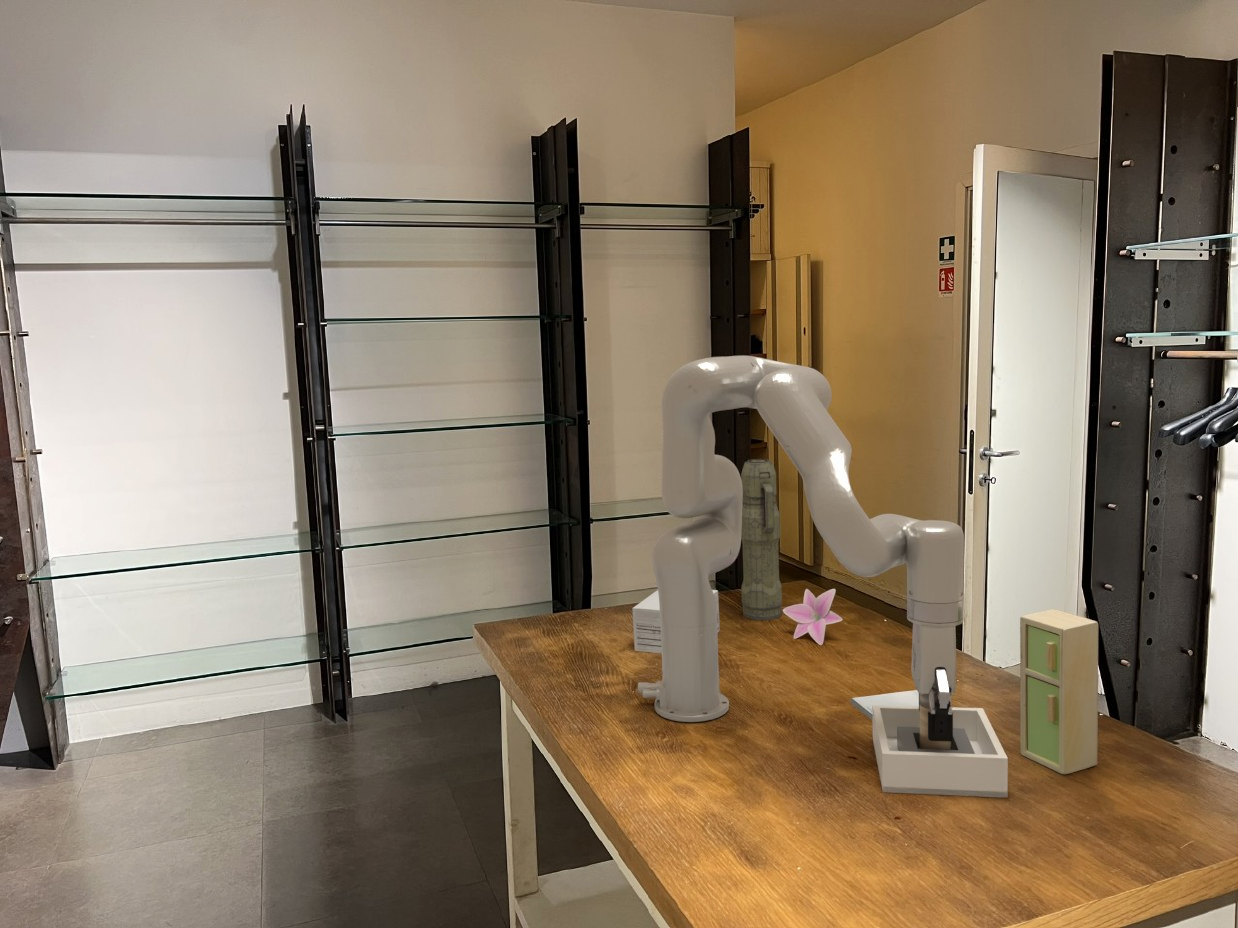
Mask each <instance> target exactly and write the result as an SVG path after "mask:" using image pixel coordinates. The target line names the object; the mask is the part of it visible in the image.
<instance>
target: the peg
mask: <svg viewBox="0 0 1238 928" xmlns="http://www.w3.org/2000/svg"><path fill="white" fill-rule="evenodd" d="M932 690H938V689H932ZM936 699H938V697H934V704H935V701H936ZM928 712H930V704H929V695H928V694H924V695H920V749H937V750H951V741H950V742H949V741H930V740H929V739H928Z"/></svg>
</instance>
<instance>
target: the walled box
mask: <svg viewBox="0 0 1238 928" xmlns="http://www.w3.org/2000/svg"><path fill="white" fill-rule="evenodd" d="M872 710H873V721H872V742H873V748H874V754H875V759H876V764H877V769H878V774H879V779H880V785H881V789H882V790H881V791H882V793H893V794H895V793H897V794H915V795H916V794H917V795H939V796H958V797H959V796H961V797H962V796H963V797H979V798H980V797H985V798H1001V799H1003V798H1006V799H1008V787H1009V786H1008V778H1009V777H1008V776H1009V775H1008V774H1009V768H1008V765H1009V764H1008V763H1009V760H1008V759H1009V758H1008V756H1007V754H1006V752H1005V750H1004V748H1003V746H1002V744H1001V742H1000V740H999V737H998V736H997V734H996V732H995V730H994V728H993V726H992V724H991V722H990V720H989V718H988V716H987V714H986V711H985V710H984V708H983V707H979V708H978V707H955V706H952V713H953V740H952V741H951V750H937V749H920V711H919V706H884V705H872Z"/></svg>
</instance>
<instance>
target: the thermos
mask: <svg viewBox="0 0 1238 928" xmlns="http://www.w3.org/2000/svg"><path fill="white" fill-rule="evenodd" d="M740 477H741V480H742V487H743V501H742V529H741V543H742V562H743V563H742V566H743V567H742V568H743V569H742V570H743V572H742V573H743V581H742V583H741V604H742V615H743V617H744V618H747V619H749V620H754V621H771V620H776V619H779V618H780V617H782V612H783V610H782V604H783V591H782V589H783V588H782V587H783V586H782V585H783V584H782V582H781V581H780V564H779V563H780V562H779V561H780V560H779V556H780V555H779V541H780V538H781V515H780V511H779V509H778V506H777V505H778V504H777V503H778V501H777V472H776V469H775V466H774V464H773V461H771V460H769V459H766V458H756V459H755V458H754V459H753V458H752V459H748V460H747V461H744V464H743V467H742V471H741V474H740Z"/></svg>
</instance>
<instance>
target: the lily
mask: <svg viewBox="0 0 1238 928" xmlns="http://www.w3.org/2000/svg"><path fill="white" fill-rule="evenodd" d="M836 591H837V590H836V588H832V589H828V590H827V591H825V592H822V593H821V594H820V595H818V596H817V597H816V596H815V595H814V594H813V593H812V592H811V591H810V589H808V588H806V589H805V590H804V595H803V602H802V603H797V604H793V605H790V606H787V607H784V608H783V609H782V612H783V614H785V615H786V616H787V617H789V618H790V619H791V620H793V621H794V622H797V624H796V625H797V626H796V627H795V629H794V633H793V639H794V640H795V639H796V640H797V638H798V639H799V638H800V637H802V636H804V635H806V634H808V635H810V637H811V638H812V639H813V640H814V641H815V642H816V643H817V644H818V645H819V646H822V645H823V644H824V641H825V633H826V626H827V625H832V624H837V623H839V622H842V621H843V617H841V616H840V615H839V614H837V613H835V612H834V611H833V610H830V609H831V607H832V606H831V605H832V604H833V600H834V597H835V595H836Z"/></svg>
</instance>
